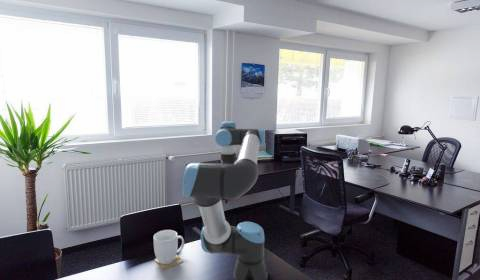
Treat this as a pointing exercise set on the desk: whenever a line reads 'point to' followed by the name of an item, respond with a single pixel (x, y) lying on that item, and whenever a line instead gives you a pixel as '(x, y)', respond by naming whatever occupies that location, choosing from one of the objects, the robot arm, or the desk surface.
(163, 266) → the coaster
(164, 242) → the mug
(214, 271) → the desk surface
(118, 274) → the desk surface
